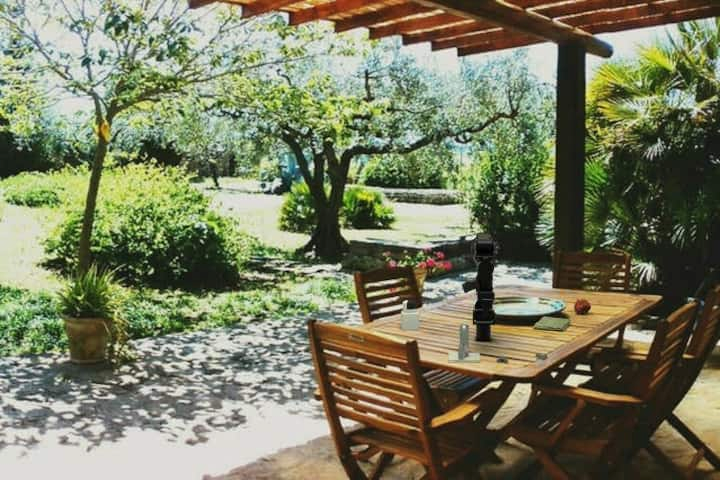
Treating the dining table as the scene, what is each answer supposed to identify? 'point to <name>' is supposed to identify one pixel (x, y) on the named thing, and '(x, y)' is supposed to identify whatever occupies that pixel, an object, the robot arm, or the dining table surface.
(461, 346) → the steel hook
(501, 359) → the vise jaws
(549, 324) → the washcloth
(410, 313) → the medicine bottle
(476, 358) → the cream ceramic tile
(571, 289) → the dining table surface
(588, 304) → the red spiky fruit
